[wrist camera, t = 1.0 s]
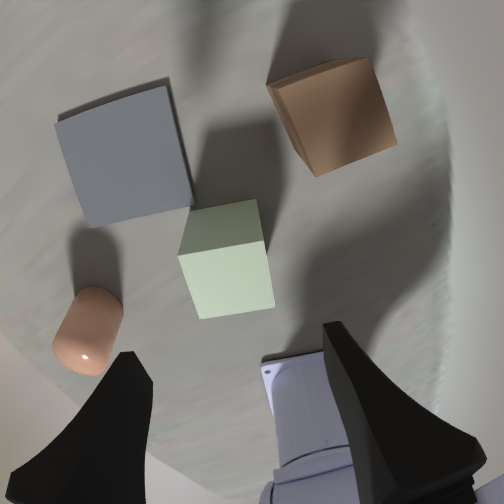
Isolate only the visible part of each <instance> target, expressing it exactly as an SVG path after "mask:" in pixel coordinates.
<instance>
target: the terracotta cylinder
mask: <svg viewBox="0 0 504 504" xmlns="http://www.w3.org/2000/svg"><path fill="white" fill-rule="evenodd" d="M122 318H123V308H122V305H121V303H120V302H119V300H118V299H117V298H116V297H115V296H114V295H113V294H112V293H110V292H109V291H107V290H105V289H102V288H99V287H94V286H90V287H85V288H83V289H81V290H80V291H79V292H78V293H77V295H76V297H75V299H74V301H73V302H72V304H71V306H70V308H69V310H68V312H67V314H66V316H65V318H64V320H63V322H62V324H61V326H60V328H59V330H58V332H57V334H56V336H55V338H54V340H53V342H52V348H53V352H54V354H55V355H56V357H57V358H58V359H59V360H60V361H61V362H62V363H63V364H64V365H65V366H67V367H68V368H70V369H71V370H73V371H76V372H78V373H81V374H85V375H98V374H101V373H103V372H104V371H105V370H106V367H107V364H108V361H109V357H110V354H111V351H112V348H113V345H114V342H115V339H116V336H117V333H118V330H119V327H120V324H121V321H122Z"/></svg>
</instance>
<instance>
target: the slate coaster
mask: <svg viewBox="0 0 504 504" xmlns="http://www.w3.org/2000/svg"><path fill="white" fill-rule="evenodd" d="M54 125H55V129H56V132H57V136H58V139H59V142H60V146H61V149H62V152H63V155H64V159H65V162H66V165H67V168H68V171H69V174H70V177H71V180H72V183H73V185H74V188H75V191H76V194H77V197H78V199H79V202H80V205H81V207H82V210H83V213H84V215H85V218H86V220H87V223H88V225H89V228H90V229H91V228H95V227H99V226H103V225H107V224H111V223H115V222H120V221H124V220H128V219H133V218H137V217H141V216H146V215H150V214H155V213H160V212H164V211H169V210H174V209H178V208H183V207H188V206H193V205H195V199H194V195H193V191H192V187H191V183H190V179H189V175H188V171H187V167H186V163H185V159H184V155H183V151H182V147H181V143H180V139H179V135H178V130H177V126H176V122H175V118H174V113H173V109H172V105H171V100H170V96H169V91H168V87H167V85H165V86H162V87H158V88H154V89H151V90H147V91H144V92H141V93H137V94H134V95H131V96H128V97H124V98H121V99H118V100H115V101H112V102H109V103H107V104H104V105H101V106H98V107H95V108H93V109H90V110H87V111H85V112H82V113H80V114H77V115H75V116H72V117H70V118H67V119H65V120H62V121H60V122H58V123H55V124H54Z"/></svg>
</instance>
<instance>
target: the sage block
mask: <svg viewBox="0 0 504 504" xmlns="http://www.w3.org/2000/svg"><path fill="white" fill-rule="evenodd" d="M178 258H179V261H180V264H181V267H182V270H183V273H184V276H185V279H186V282H187V285H188V288H189V290H190V293H191V296H192V299H193V302H194V304H195V307H196V310H197V313H198V315H199V318H200V319H204V318H211V317H218V316H224V315H231V314H237V313H244V312H250V311H256V310H262V309H268V308H274V307H275V303H274V297H273V291H272V285H271V279H270V273H269V267H268V261H267V256H266V250H265V244H264V238H263V233H262V227H261V222H260V216H259V211H258V205H257V200H256V199H252V200H246V201H241V202H235V203H230V204H225V205H219V206H214V207H209V208H204V209H199V210H194V211H189V215H188V218H187V222H186V226H185V229H184V233H183V237H182V241H181V245H180V249H179V252H178Z"/></svg>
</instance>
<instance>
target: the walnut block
mask: <svg viewBox="0 0 504 504" xmlns="http://www.w3.org/2000/svg"><path fill="white" fill-rule="evenodd" d="M266 87H267V89H268V91H269V93H270V96H271V98H272V100H273V102H274V104H275V106H276V109H277V111H278V113H279V115H280V117H281V120H282V122H283V124H284V126H285V129H286V131H287V133H288V135H289V138H290V140H291V142H292V145H293V147H294V149H295V151H296V152H297V153H298V155H299V156H300V157H301V158H302V160H303V161H304V162H305V164H306V165H307V166H308V168H309V169H310V170H311V172H312V173H313V174H314V176H315V177H318V176H320V175H323V174H325V173H327V172H330V171H332V170H335V169H337V168H340V167H342V166H344V165H347V164H349V163H352V162H354V161H357V160H359V159H362V158H364V157H367V156H369V155H372V154H375V153H377V152H380V151H382V150H385V149H387V148H390V147H393V146H395V145H398V144H397V140H396V137H395V133H394V130H393V126H392V123H391V120H390V117H389V113H388V110H387V107H386V104H385V101H384V98H383V95H382V92H381V89H380V86H379V83H378V80H377V78H376V75H375V72H374V70H373V67H372V64H371V62H370V59H369V57H366V58H349V59H337V60H331V61H328V62H325V63H322V64H319V65H316V66H314V67H311V68H308V69H305V70H303V71H300V72H297V73H294V74H292V75H289V76H287V77H284V78H282V79H279V80H277V81H274V82H272V83H269V84H267V85H266Z"/></svg>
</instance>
